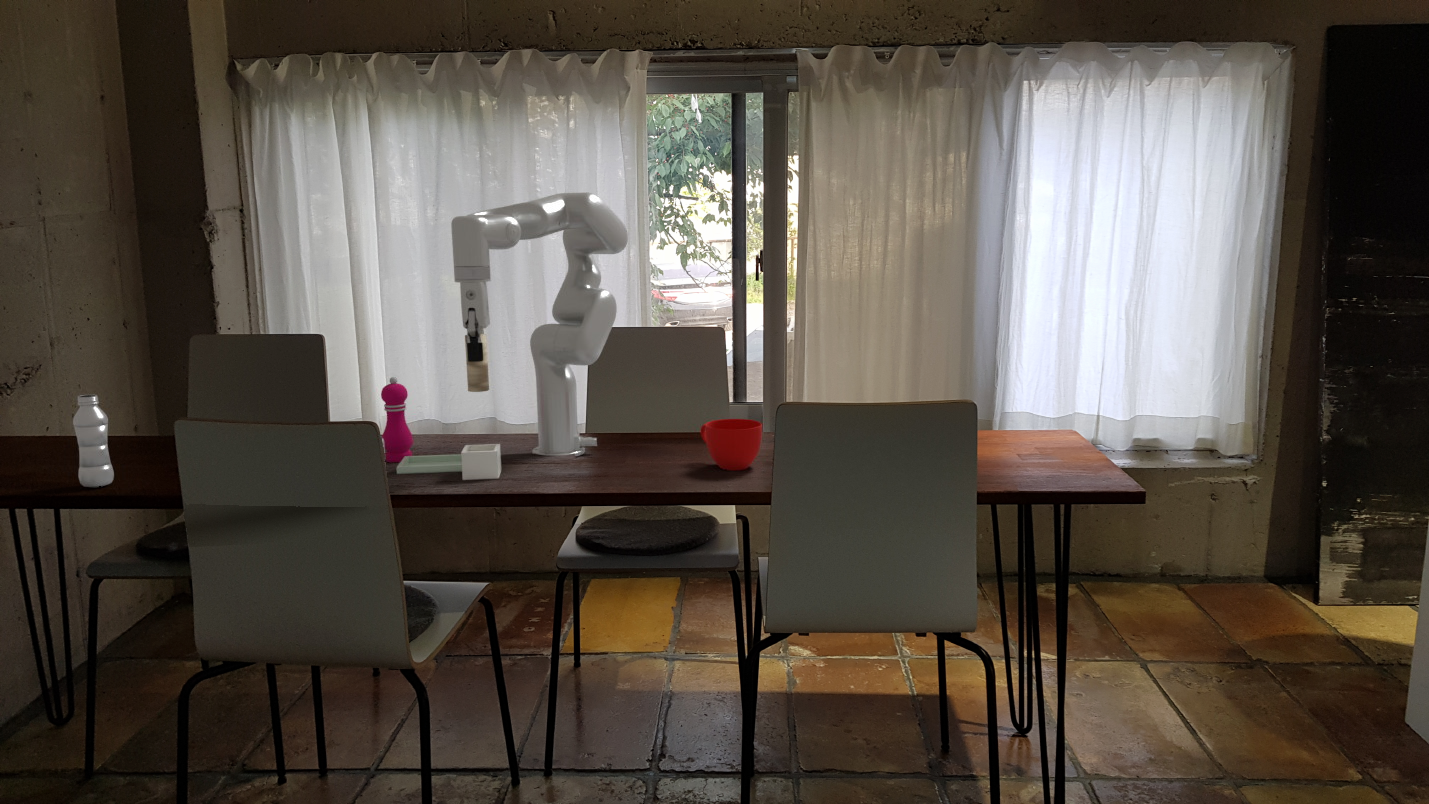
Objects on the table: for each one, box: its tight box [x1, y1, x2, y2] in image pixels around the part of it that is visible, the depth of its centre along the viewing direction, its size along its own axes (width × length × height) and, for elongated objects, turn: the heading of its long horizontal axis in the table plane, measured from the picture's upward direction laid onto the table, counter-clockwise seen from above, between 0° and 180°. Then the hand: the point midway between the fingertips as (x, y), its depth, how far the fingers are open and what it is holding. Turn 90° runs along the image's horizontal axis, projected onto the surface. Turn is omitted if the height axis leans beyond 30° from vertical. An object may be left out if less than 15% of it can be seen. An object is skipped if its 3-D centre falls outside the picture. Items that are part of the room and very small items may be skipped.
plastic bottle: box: [72, 394, 115, 488], centre depth 226 cm, size 6×7×20 cm
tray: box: [396, 453, 462, 475], centre depth 238 cm, size 16×11×2 cm
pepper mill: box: [380, 376, 414, 463], centre depth 249 cm, size 7×7×20 cm
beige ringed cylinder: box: [464, 334, 490, 393], centre depth 226 cm, size 4×4×12 cm
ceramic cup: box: [700, 418, 763, 471], centre depth 240 cm, size 13×17×10 cm
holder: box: [460, 443, 502, 481], centre depth 230 cm, size 8×8×7 cm
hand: (476, 358), depth 226 cm, fingers closed on beige ringed cylinder, 4 cm apart
